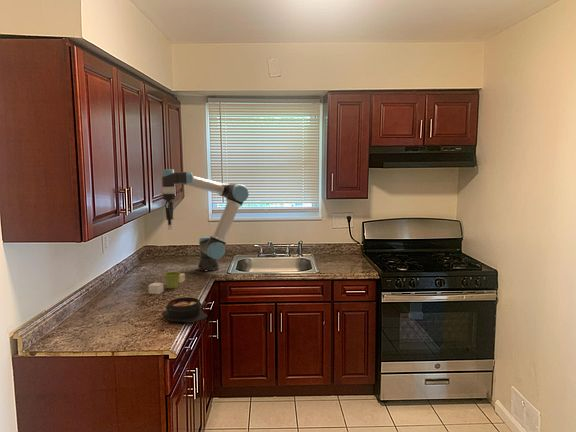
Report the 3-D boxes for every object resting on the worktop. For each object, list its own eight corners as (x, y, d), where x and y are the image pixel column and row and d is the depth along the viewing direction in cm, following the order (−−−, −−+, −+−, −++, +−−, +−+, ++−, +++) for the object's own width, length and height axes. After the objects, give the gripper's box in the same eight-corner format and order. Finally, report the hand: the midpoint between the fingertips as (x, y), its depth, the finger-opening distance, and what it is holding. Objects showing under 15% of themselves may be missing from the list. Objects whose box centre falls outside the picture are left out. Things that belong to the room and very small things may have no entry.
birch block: (171, 282, 280) (171, 275, 280) (176, 280, 286) (176, 272, 285) (180, 283, 279) (180, 275, 278) (185, 281, 284) (184, 273, 284)
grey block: (148, 293, 257) (148, 285, 257) (154, 290, 263) (154, 282, 262) (157, 294, 255) (157, 285, 255) (163, 291, 261) (163, 283, 261)
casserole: (152, 318, 214) (151, 301, 213) (182, 308, 229) (182, 292, 228) (186, 329, 199) (185, 311, 198) (216, 318, 214) (216, 301, 213)
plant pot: (172, 284, 276) (172, 270, 275) (183, 286, 271) (183, 272, 270) (161, 288, 268) (160, 274, 267) (172, 290, 263) (171, 276, 262)
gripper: (165, 192, 291) (166, 228, 294) (160, 194, 278) (161, 231, 281) (176, 192, 291) (178, 228, 294) (172, 193, 278) (173, 231, 281)
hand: (170, 229), depth 287 cm, fingers closed
